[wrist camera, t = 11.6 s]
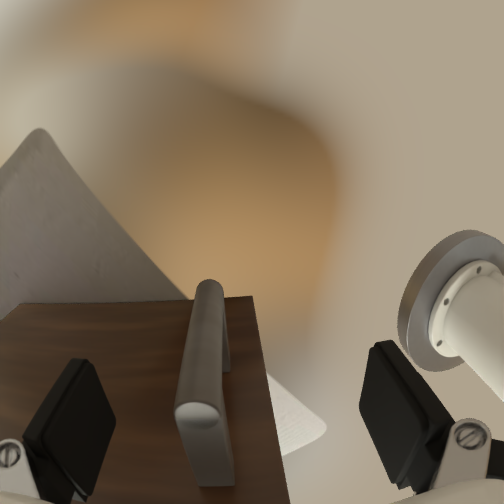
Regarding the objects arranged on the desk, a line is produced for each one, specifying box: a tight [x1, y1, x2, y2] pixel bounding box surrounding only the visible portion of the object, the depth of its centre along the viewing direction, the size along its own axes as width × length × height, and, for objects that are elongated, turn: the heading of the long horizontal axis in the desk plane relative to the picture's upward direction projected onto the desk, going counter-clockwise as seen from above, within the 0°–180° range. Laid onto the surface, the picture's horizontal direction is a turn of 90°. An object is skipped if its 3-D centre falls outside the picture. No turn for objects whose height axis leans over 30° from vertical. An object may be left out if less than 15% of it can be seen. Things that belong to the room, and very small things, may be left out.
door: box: [0, 279, 290, 504], centre depth 16 cm, size 7×26×24 cm, turn 93°
